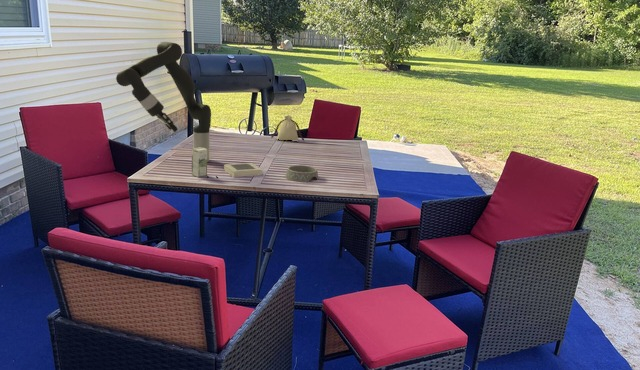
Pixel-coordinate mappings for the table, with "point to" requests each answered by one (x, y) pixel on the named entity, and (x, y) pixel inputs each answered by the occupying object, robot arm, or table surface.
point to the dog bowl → (301, 173)
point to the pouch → (288, 130)
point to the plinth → (242, 169)
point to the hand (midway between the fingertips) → (173, 129)
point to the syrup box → (199, 162)
